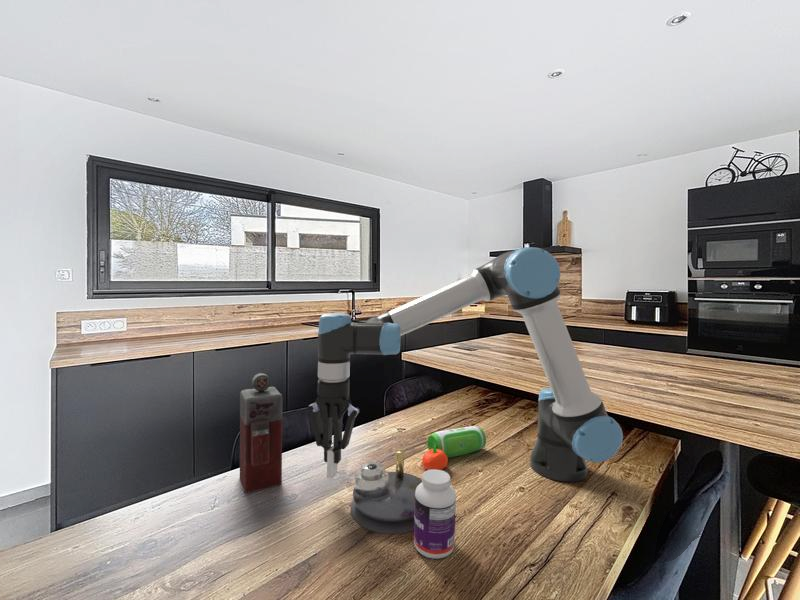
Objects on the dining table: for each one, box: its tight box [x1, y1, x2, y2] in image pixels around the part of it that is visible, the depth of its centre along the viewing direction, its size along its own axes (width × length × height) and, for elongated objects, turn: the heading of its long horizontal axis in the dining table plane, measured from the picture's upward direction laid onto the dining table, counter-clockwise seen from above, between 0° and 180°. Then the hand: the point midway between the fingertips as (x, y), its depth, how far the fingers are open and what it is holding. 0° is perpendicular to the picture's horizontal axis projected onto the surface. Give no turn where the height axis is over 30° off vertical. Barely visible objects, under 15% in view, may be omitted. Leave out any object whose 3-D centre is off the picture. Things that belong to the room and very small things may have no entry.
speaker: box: [426, 425, 487, 458], centre depth 117 cm, size 18×7×8 cm, turn 115°
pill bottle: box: [413, 469, 457, 560], centre depth 75 cm, size 8×8×14 cm
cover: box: [353, 461, 389, 497], centre depth 89 cm, size 8×8×5 cm
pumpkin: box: [421, 446, 449, 471], centre depth 106 cm, size 7×8×6 cm
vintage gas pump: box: [239, 372, 284, 494], centre depth 97 cm, size 9×11×28 cm
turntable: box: [352, 449, 422, 524], centre depth 87 cm, size 18×18×8 cm
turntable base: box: [350, 500, 414, 535], centre depth 88 cm, size 19×19×2 cm
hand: (332, 475), depth 91 cm, fingers closed
